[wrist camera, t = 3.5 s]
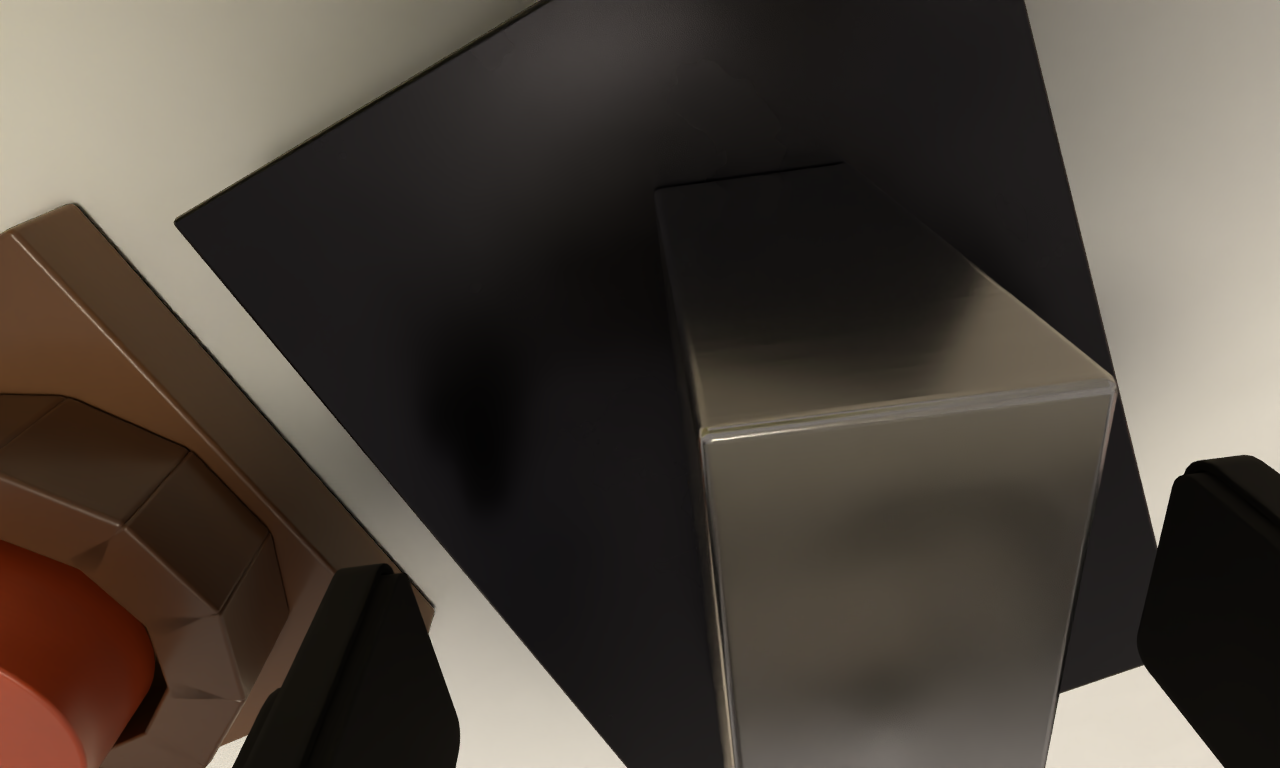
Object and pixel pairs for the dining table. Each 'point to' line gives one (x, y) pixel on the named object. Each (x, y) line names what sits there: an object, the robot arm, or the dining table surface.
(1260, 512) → the robot arm
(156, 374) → the button block
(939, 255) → the silver metal block
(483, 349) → the plate
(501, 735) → the dining table surface
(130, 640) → the button
